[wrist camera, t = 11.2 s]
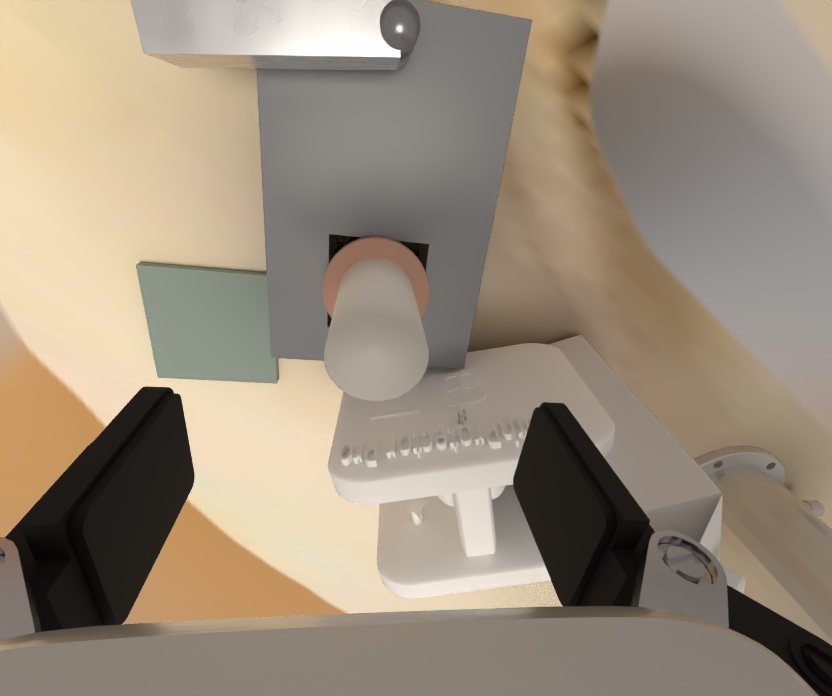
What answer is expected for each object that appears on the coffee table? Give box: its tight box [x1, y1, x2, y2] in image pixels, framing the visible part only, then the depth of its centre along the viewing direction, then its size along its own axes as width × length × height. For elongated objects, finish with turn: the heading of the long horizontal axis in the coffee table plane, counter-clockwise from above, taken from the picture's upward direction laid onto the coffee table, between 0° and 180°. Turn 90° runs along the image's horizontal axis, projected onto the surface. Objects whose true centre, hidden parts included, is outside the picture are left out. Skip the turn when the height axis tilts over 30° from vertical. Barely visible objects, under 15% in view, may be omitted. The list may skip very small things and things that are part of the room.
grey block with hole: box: [257, 0, 532, 369], centre depth 23 cm, size 12×18×4 cm, turn 173°
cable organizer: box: [328, 343, 615, 598], centre depth 26 cm, size 15×11×12 cm
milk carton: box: [548, 335, 745, 594], centre depth 23 cm, size 7×7×19 cm
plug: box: [322, 236, 429, 401], centre depth 21 cm, size 6×6×12 cm
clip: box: [131, 0, 421, 71], centre depth 16 cm, size 2×9×5 cm, turn 90°
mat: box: [136, 262, 279, 383], centre depth 27 cm, size 8×8×1 cm
